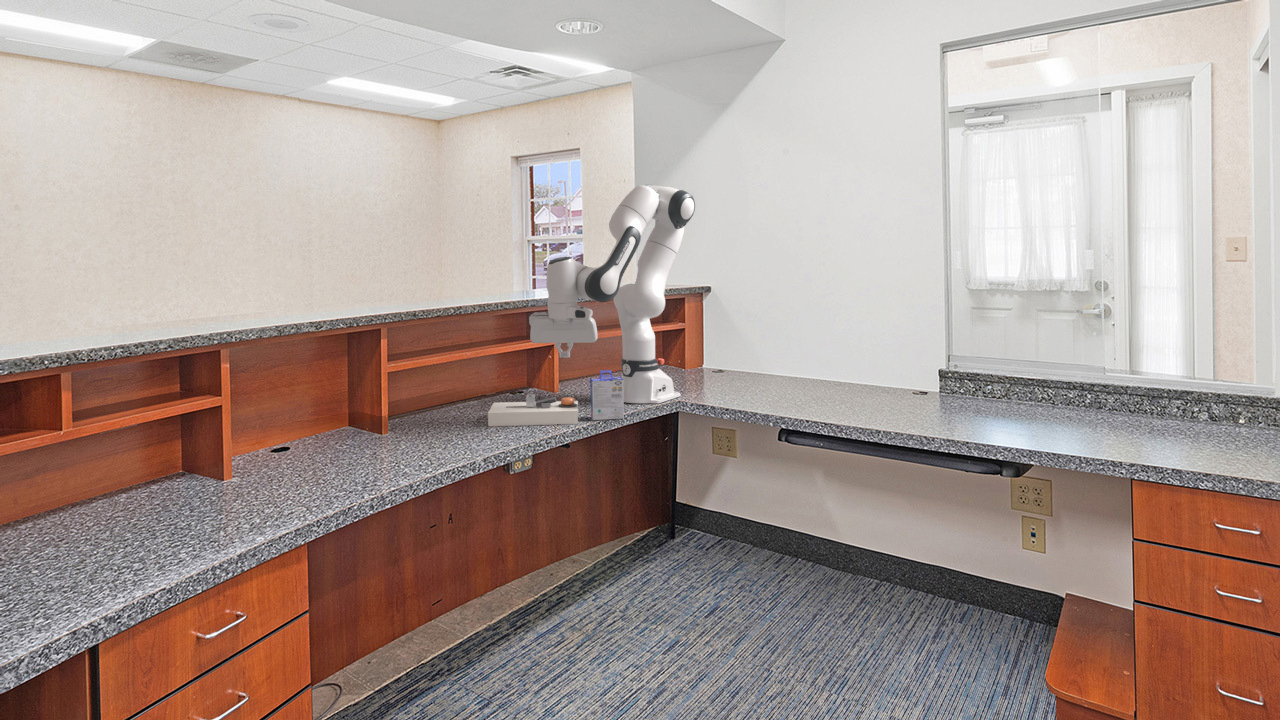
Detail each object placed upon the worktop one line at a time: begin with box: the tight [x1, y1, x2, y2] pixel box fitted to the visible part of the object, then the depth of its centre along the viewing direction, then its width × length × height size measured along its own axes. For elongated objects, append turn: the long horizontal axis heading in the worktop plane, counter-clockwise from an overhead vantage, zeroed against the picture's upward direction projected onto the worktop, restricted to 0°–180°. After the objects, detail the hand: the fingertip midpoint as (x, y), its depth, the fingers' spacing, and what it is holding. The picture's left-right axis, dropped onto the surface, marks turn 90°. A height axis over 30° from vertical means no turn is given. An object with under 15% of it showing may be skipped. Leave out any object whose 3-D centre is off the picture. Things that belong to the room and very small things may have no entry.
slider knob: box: [525, 392, 536, 407], centre depth 217 cm, size 2×4×3 cm, turn 4°
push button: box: [560, 396, 575, 405], centre depth 218 cm, size 4×4×2 cm
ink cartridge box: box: [589, 369, 625, 421], centre depth 219 cm, size 10×6×14 cm, turn 102°
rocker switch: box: [535, 396, 557, 407], centre depth 218 cm, size 6×4×1 cm, turn 93°
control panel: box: [487, 400, 579, 427], centre depth 218 cm, size 26×14×6 cm, turn 94°
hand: (564, 357), depth 218 cm, fingers closed
